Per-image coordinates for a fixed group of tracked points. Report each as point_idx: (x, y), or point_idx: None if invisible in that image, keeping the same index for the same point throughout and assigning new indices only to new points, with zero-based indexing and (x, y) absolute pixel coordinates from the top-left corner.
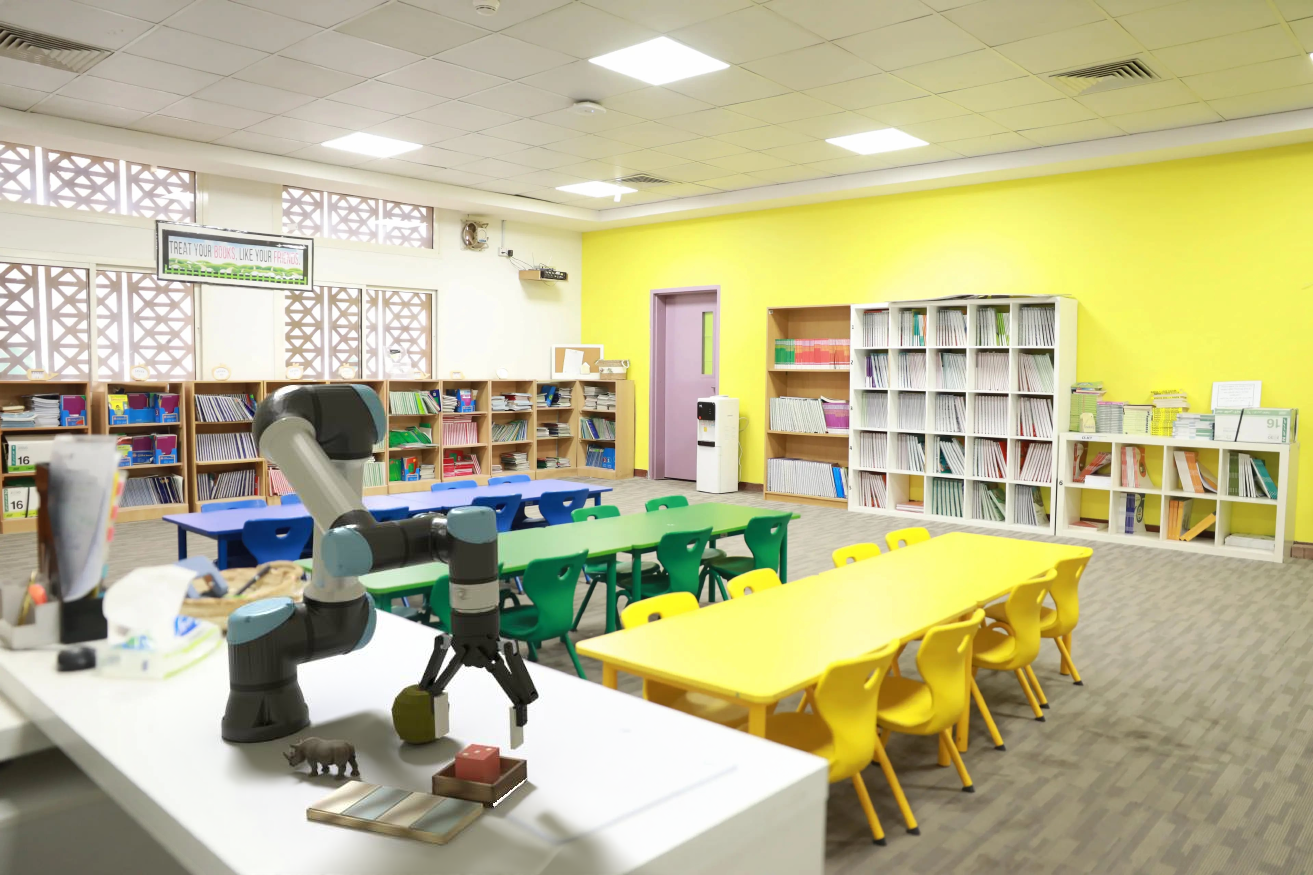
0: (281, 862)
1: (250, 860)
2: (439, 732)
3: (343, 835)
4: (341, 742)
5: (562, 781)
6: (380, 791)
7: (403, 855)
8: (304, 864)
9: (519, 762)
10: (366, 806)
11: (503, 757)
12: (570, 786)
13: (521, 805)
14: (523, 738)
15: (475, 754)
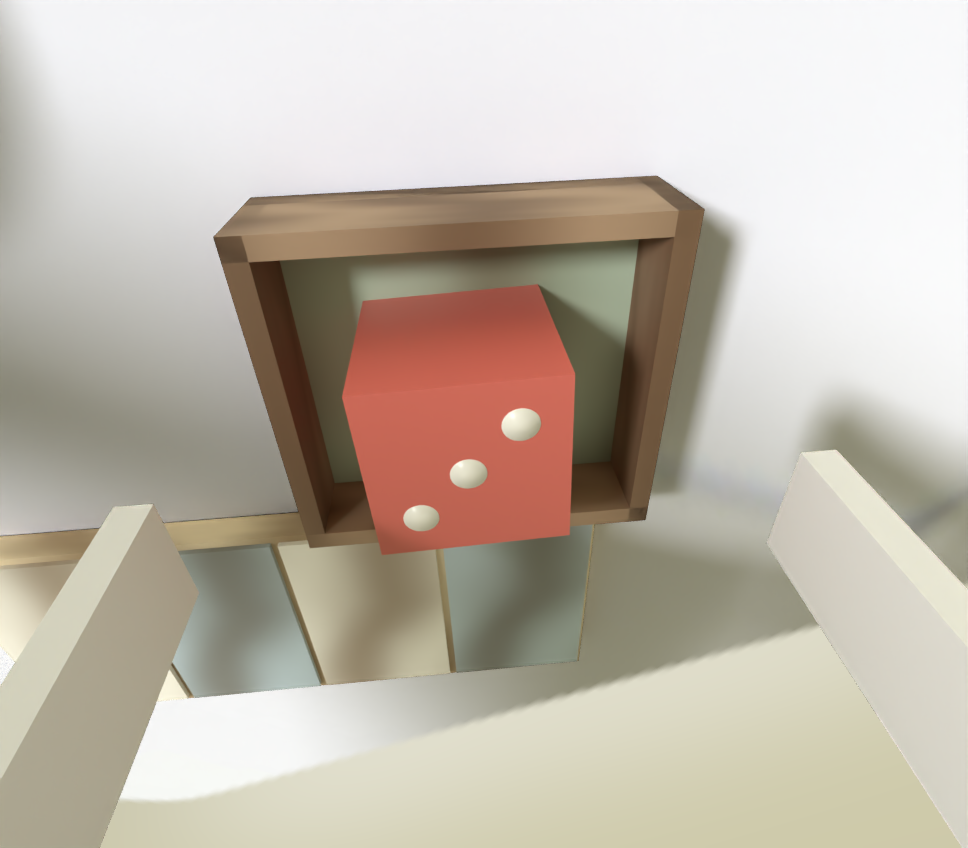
0: (259, 774)
1: (190, 789)
2: (183, 626)
3: (276, 693)
4: None
5: (870, 110)
6: None
7: (501, 688)
8: (314, 763)
9: (670, 265)
10: (219, 653)
11: (528, 234)
12: (924, 154)
13: (718, 403)
14: (856, 474)
15: (479, 500)
